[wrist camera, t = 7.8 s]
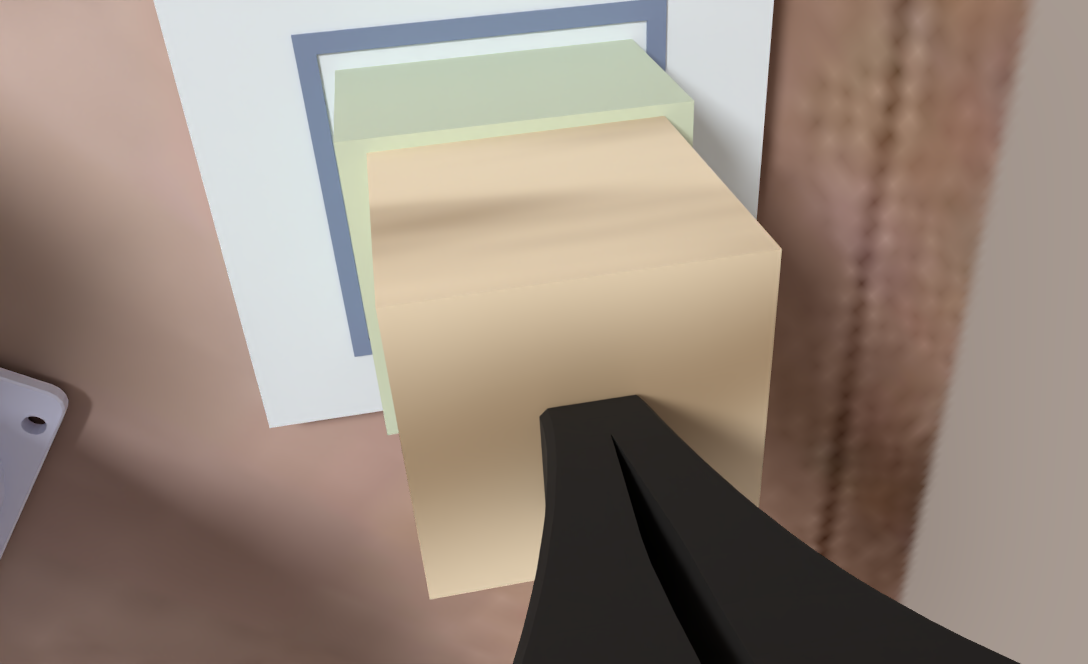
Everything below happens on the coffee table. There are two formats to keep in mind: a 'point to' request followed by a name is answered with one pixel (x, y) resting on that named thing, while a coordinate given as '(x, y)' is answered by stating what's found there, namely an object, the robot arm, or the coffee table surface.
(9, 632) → the coffee table surface
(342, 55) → the board
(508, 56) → the sage base block
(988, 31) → the coffee table surface
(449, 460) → the maple block
